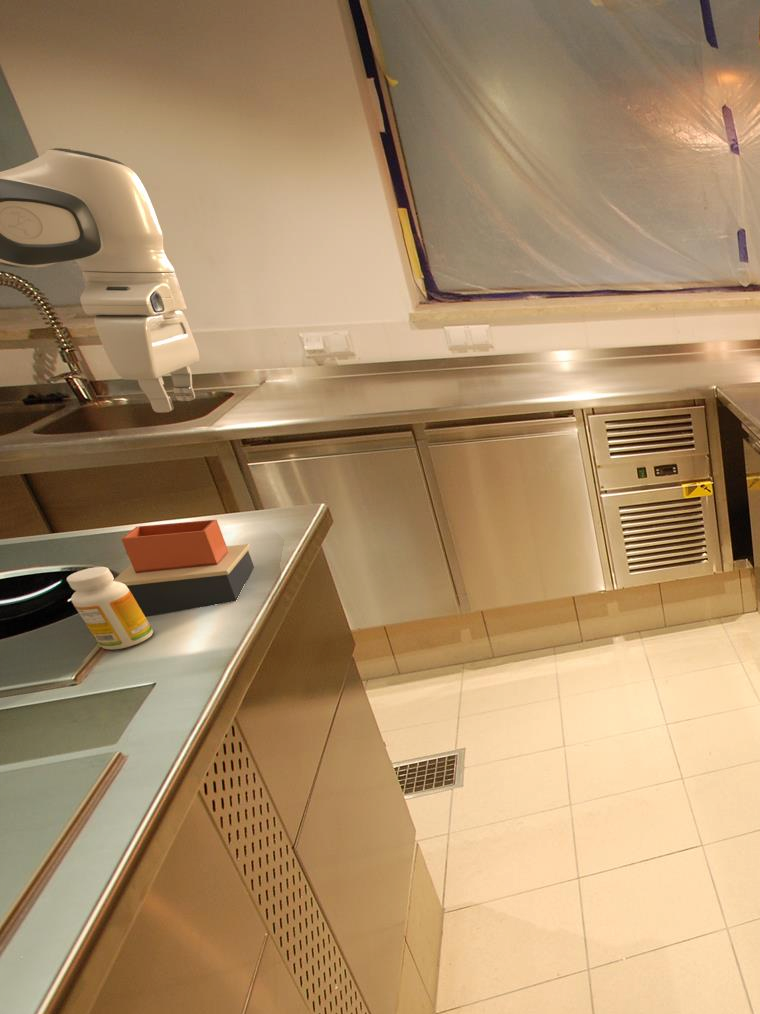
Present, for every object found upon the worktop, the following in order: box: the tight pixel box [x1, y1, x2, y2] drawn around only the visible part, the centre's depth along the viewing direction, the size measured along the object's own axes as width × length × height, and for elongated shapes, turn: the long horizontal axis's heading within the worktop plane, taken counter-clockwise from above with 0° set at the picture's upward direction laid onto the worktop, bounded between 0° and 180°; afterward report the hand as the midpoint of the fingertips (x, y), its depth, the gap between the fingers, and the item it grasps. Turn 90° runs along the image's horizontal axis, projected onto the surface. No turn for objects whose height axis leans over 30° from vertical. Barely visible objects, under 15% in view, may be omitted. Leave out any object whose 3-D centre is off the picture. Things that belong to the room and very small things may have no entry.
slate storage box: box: [113, 543, 255, 618], centre depth 121 cm, size 13×13×6 cm
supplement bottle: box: [66, 566, 154, 650], centre depth 107 cm, size 5×5×10 cm
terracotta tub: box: [120, 519, 228, 573], centre depth 118 cm, size 9×6×5 cm, turn 116°
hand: (176, 405), depth 114 cm, fingers open, 8 cm apart
